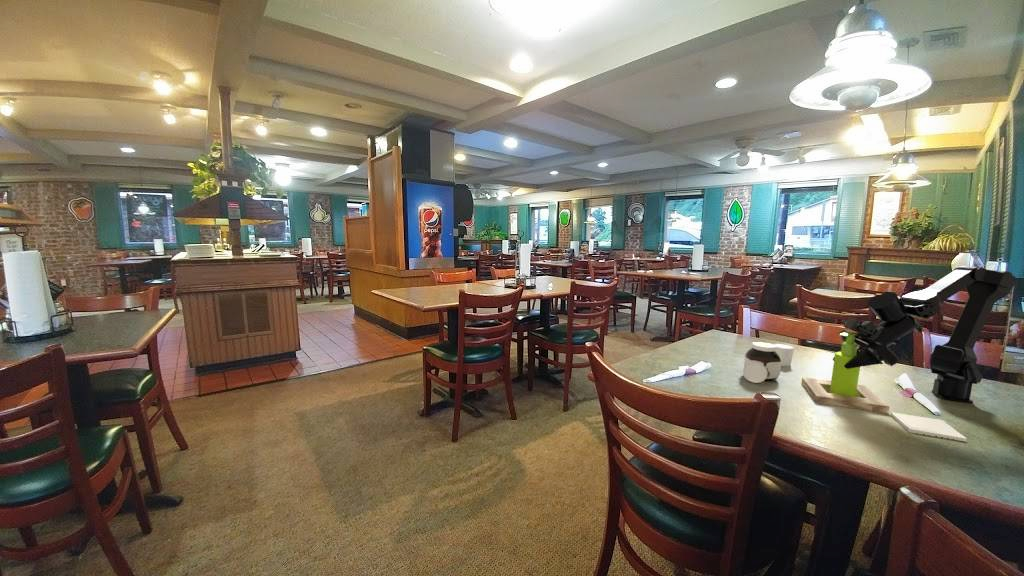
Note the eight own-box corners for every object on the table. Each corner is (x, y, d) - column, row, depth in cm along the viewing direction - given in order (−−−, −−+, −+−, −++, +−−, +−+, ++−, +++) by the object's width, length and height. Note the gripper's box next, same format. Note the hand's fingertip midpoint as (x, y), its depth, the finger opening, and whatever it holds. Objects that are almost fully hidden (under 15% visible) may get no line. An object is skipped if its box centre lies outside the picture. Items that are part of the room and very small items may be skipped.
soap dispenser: (822, 394, 115) (831, 331, 112) (837, 390, 118) (846, 328, 114) (845, 402, 110) (855, 336, 107) (859, 398, 112) (869, 333, 109)
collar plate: (864, 391, 118) (865, 385, 117) (888, 413, 103) (889, 406, 103) (801, 383, 124) (802, 377, 124) (815, 402, 110) (816, 395, 110)
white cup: (797, 367, 140) (799, 348, 139) (778, 366, 140) (780, 348, 139) (784, 360, 146) (786, 343, 145) (766, 360, 147) (768, 343, 146)
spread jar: (773, 375, 131) (776, 342, 130) (787, 387, 121) (791, 352, 119) (734, 371, 135) (737, 340, 133) (744, 383, 124) (748, 349, 122)
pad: (941, 422, 98) (941, 419, 98) (966, 441, 89) (966, 438, 89) (890, 414, 102) (890, 412, 102) (909, 432, 93) (909, 429, 93)
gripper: (849, 304, 118) (804, 336, 122) (891, 316, 100) (836, 353, 105) (876, 330, 117) (830, 361, 121) (923, 347, 99) (866, 383, 104)
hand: (839, 364), depth 113 cm, fingers closed on soap dispenser, 6 cm apart
